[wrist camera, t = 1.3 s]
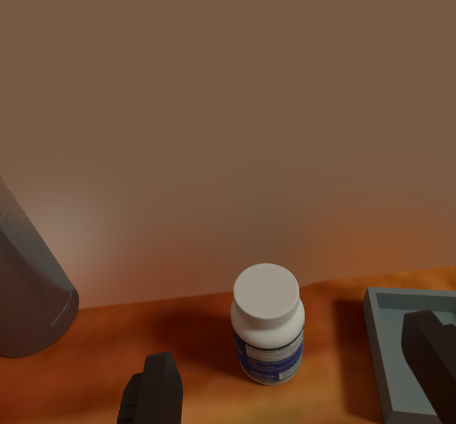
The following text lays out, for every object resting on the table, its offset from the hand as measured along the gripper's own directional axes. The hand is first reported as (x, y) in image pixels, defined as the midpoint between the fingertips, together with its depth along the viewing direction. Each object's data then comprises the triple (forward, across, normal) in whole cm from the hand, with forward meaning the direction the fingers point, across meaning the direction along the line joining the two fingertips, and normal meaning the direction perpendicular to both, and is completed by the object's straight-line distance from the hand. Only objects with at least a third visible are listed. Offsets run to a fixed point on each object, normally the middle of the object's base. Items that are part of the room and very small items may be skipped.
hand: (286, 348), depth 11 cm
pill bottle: (+12, +1, +17) cm, 21 cm away
